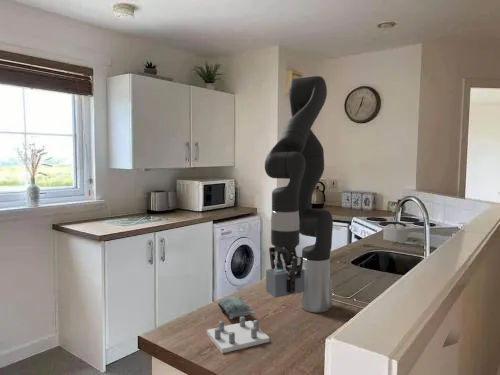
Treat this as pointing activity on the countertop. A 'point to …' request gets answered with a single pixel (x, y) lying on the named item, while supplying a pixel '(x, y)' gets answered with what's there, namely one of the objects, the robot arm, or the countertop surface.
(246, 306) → the packaged food
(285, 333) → the countertop surface
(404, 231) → the lumpy-topped squat cylinder
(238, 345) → the pegged holder plate
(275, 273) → the block
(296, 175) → the robot arm
